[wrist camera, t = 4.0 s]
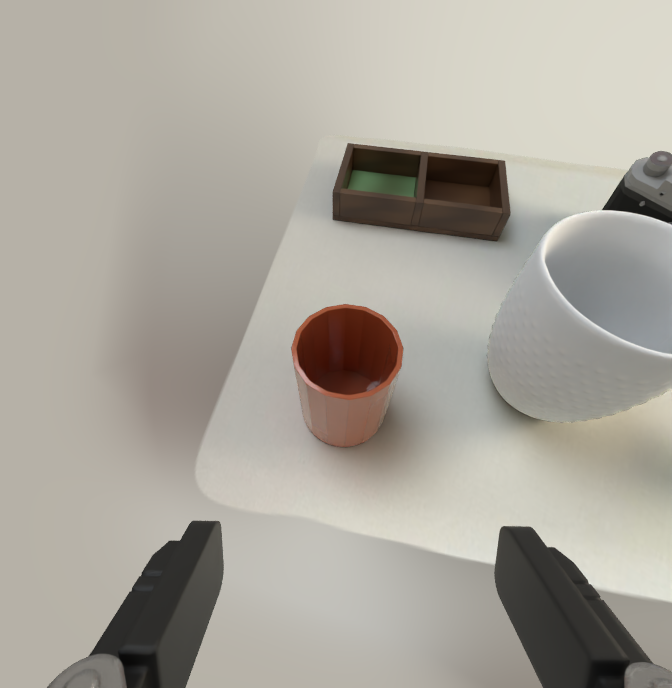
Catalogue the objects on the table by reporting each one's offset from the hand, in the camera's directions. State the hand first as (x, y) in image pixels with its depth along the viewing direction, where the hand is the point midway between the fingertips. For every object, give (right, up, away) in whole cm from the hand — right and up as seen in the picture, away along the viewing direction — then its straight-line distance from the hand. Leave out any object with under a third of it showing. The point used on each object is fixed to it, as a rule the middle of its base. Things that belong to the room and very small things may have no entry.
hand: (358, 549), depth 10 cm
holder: (+9, +23, +33) cm, 41 cm away
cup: (0, +1, +19) cm, 19 cm away
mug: (+17, +3, +21) cm, 27 cm away
